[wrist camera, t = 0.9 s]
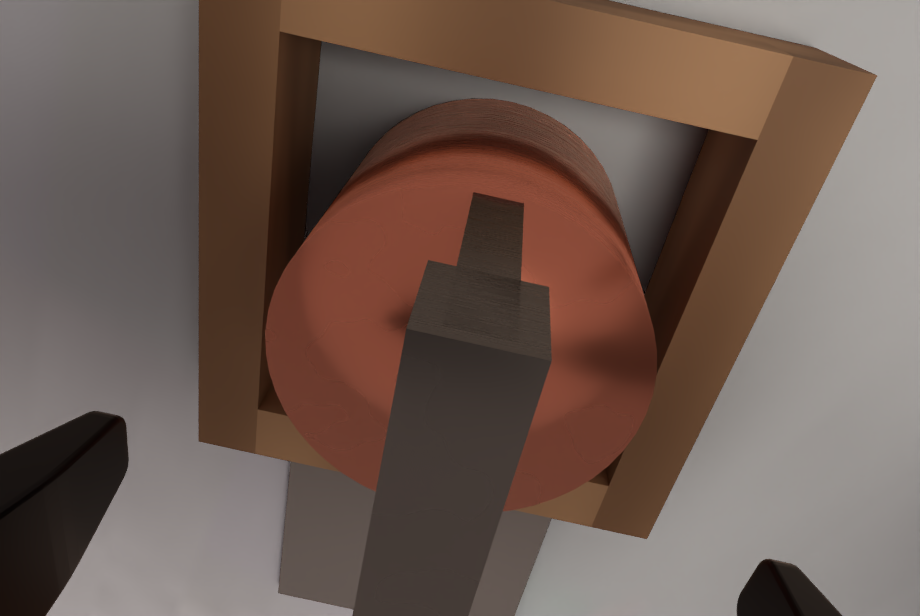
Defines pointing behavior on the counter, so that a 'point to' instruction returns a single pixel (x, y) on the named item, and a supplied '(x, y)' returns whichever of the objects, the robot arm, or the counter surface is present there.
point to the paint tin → (462, 339)
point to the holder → (550, 70)
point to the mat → (345, 534)
